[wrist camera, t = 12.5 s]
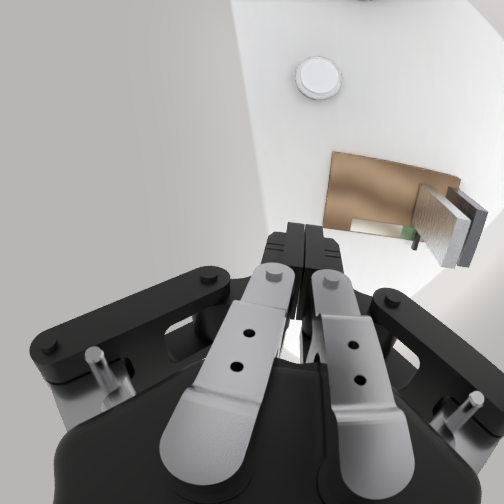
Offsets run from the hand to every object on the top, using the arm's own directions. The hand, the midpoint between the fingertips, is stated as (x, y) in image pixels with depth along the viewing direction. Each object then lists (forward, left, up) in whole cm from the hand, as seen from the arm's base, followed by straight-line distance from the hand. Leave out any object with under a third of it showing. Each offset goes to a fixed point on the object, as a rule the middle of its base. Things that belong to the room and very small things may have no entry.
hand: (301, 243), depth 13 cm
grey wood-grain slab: (+6, +23, -28) cm, 37 cm away
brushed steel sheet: (+7, +18, -27) cm, 33 cm away
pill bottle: (-9, +1, -29) cm, 31 cm away
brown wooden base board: (+6, +14, -29) cm, 33 cm away
